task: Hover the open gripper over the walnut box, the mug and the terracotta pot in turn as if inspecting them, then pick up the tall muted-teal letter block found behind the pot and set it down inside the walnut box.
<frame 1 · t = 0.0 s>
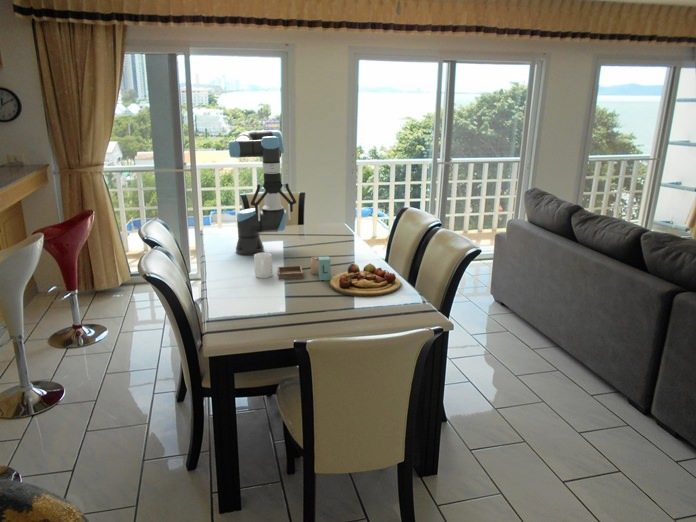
hand: (274, 219, 239), 28 cm above the table, fingers open, 13 cm apart
walnut box: (290, 274, 252), on the table
mug: (263, 277, 249), on the table
letter block: (324, 278, 246), on the table
wooden plate with food: (365, 286, 237), on the table
terracotta pot: (318, 272, 255), on the table
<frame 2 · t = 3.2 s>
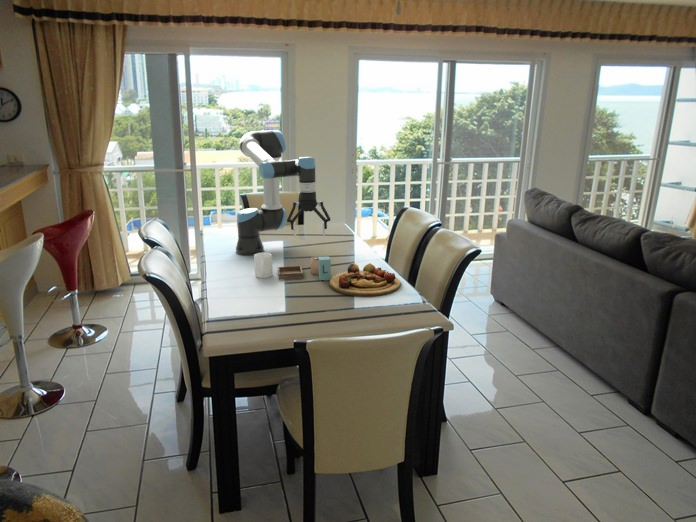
hand: (309, 236, 248), 18 cm above the table, fingers open, 13 cm apart
nothing on the table moved.
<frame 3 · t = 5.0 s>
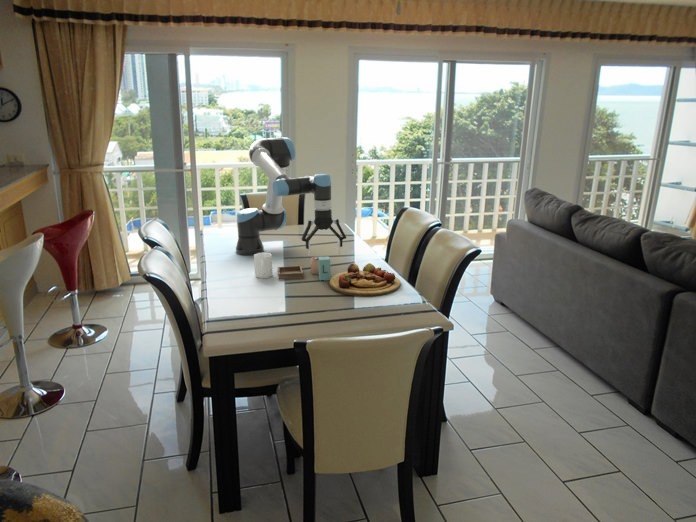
hand: (324, 254, 242), 12 cm above the table, fingers open, 13 cm apart
nothing on the table moved.
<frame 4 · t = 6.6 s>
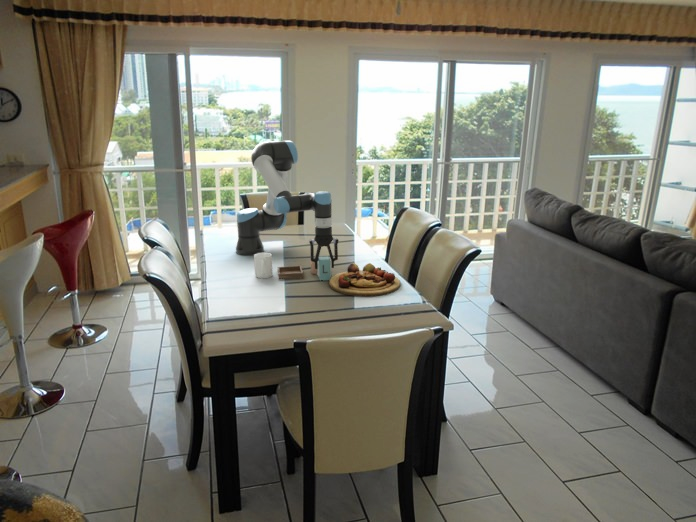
hand: (324, 274, 245), 2 cm above the table, fingers closed on letter block, 5 cm apart
letter block: (324, 278, 246), on the table, touching gripper
everything else where it was.
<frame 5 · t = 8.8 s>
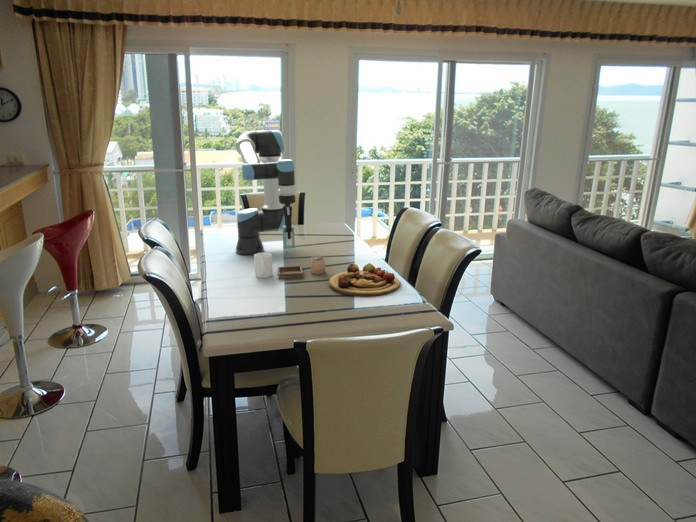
hand: (289, 243, 247), 16 cm above the table, fingers closed on letter block, 5 cm apart
letter block: (289, 247, 248), point 14 cm above the table, touching gripper
everything else where it was.
when the fingers open (3 cm above the table, at t = 11.3 s): letter block stays where it is, resting on walnut box.
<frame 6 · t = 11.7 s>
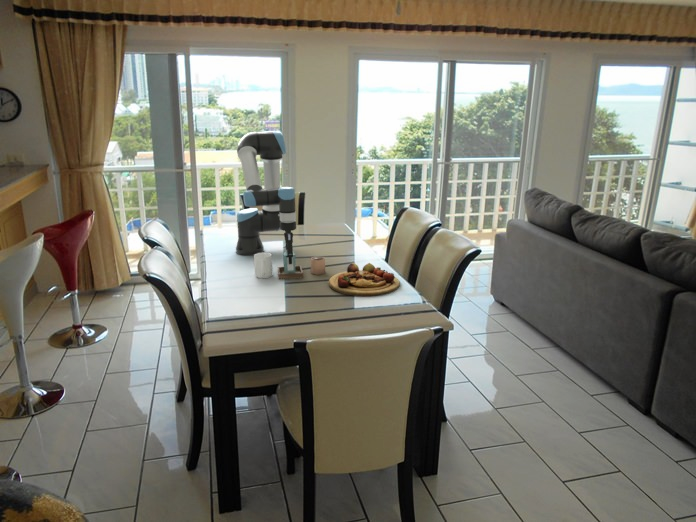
hand: (289, 266, 250), 4 cm above the table, fingers open, 10 cm apart
letter block: (290, 273, 251), resting on walnut box
everything else where it was.
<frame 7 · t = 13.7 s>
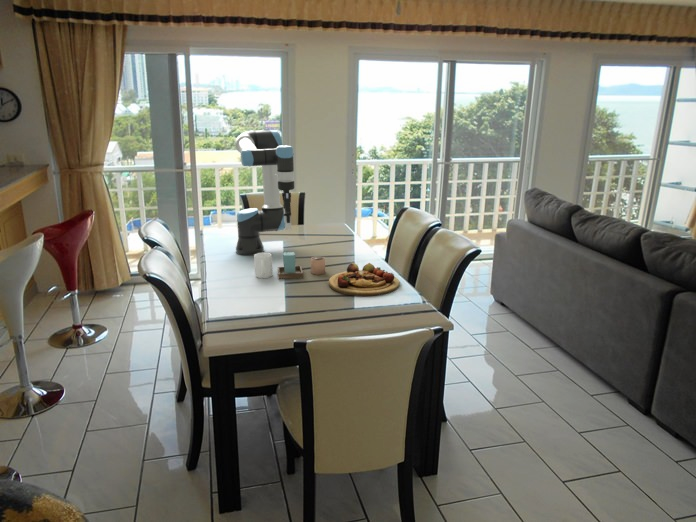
hand: (287, 225, 247), 23 cm above the table, fingers open, 13 cm apart
nothing on the table moved.
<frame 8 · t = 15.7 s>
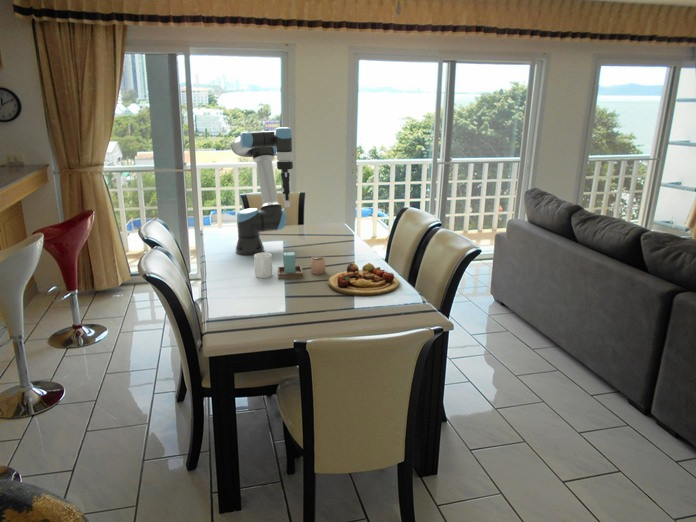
hand: (286, 204, 259), 31 cm above the table, fingers open, 13 cm apart
nothing on the table moved.
at the end: letter block inside the target area on the walnut box (0.1 cm from its centre), point 0.5 cm above the walnut box's base; letter block tilted 0°; the gripper is holding nothing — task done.
